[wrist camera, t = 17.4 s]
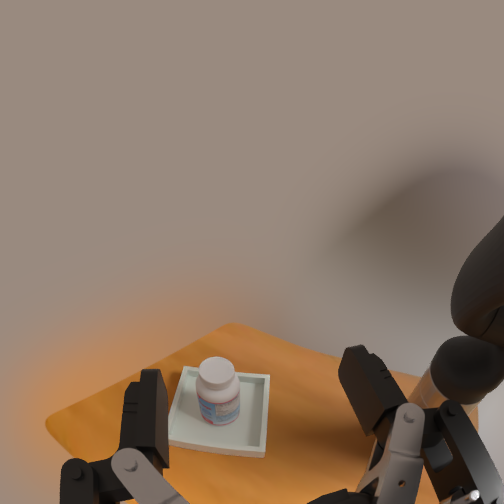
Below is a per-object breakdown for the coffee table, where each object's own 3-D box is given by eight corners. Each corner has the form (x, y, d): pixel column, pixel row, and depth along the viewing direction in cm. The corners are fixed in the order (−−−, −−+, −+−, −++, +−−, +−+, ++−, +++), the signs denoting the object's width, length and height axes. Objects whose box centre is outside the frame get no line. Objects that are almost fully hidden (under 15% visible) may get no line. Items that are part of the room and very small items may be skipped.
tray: (269, 383, 47) (270, 374, 46) (264, 457, 34) (265, 451, 33) (186, 374, 48) (184, 365, 47) (165, 444, 35) (161, 437, 34)
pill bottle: (195, 402, 42) (186, 358, 37) (231, 392, 44) (229, 347, 39) (208, 432, 37) (200, 393, 32) (246, 421, 39) (247, 379, 34)
